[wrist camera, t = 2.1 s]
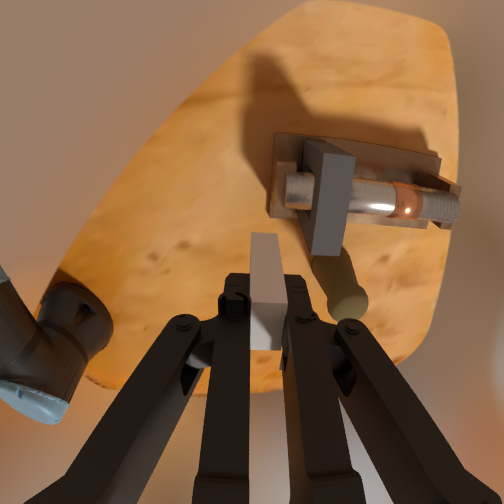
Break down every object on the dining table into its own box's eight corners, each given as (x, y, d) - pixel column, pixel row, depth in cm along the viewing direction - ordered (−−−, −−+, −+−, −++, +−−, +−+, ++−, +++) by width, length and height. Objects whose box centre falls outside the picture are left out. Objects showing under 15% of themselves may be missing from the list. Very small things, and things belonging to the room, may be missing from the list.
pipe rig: (269, 215, 39) (273, 244, 31) (274, 132, 34) (281, 140, 26) (423, 226, 40) (453, 253, 32) (438, 157, 34) (474, 172, 27)
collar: (297, 217, 38) (310, 254, 29) (304, 139, 33) (323, 152, 24) (319, 218, 38) (339, 256, 29) (329, 142, 33) (356, 156, 24)
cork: (317, 243, 41) (336, 288, 31) (356, 250, 41) (382, 294, 32) (306, 279, 44) (320, 329, 34) (343, 284, 44) (363, 332, 35)
